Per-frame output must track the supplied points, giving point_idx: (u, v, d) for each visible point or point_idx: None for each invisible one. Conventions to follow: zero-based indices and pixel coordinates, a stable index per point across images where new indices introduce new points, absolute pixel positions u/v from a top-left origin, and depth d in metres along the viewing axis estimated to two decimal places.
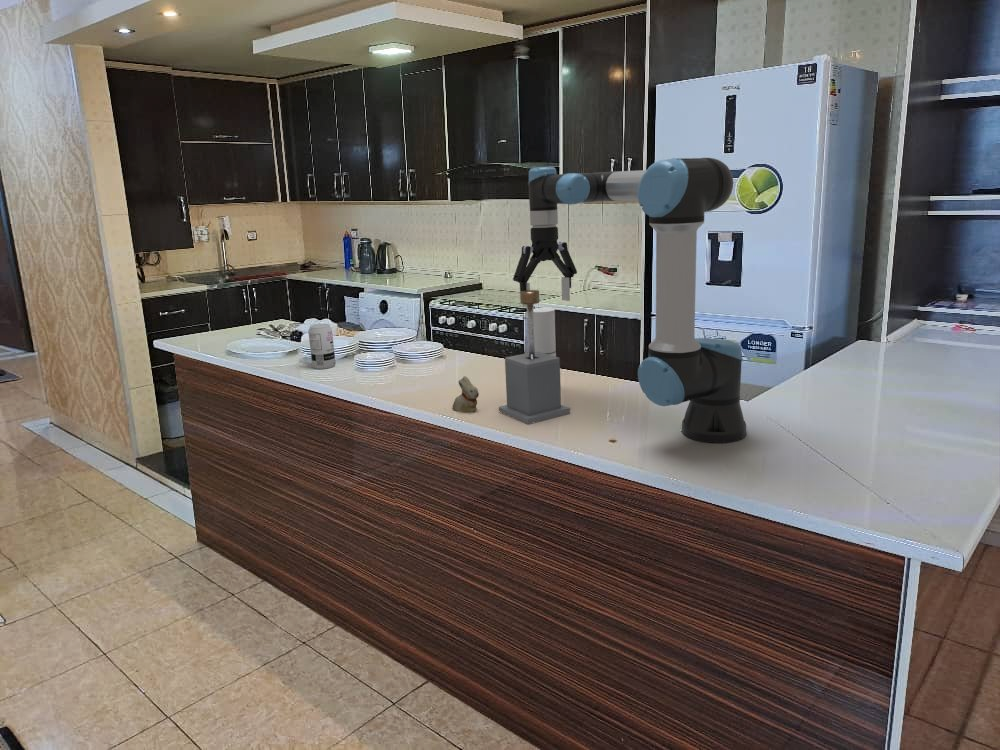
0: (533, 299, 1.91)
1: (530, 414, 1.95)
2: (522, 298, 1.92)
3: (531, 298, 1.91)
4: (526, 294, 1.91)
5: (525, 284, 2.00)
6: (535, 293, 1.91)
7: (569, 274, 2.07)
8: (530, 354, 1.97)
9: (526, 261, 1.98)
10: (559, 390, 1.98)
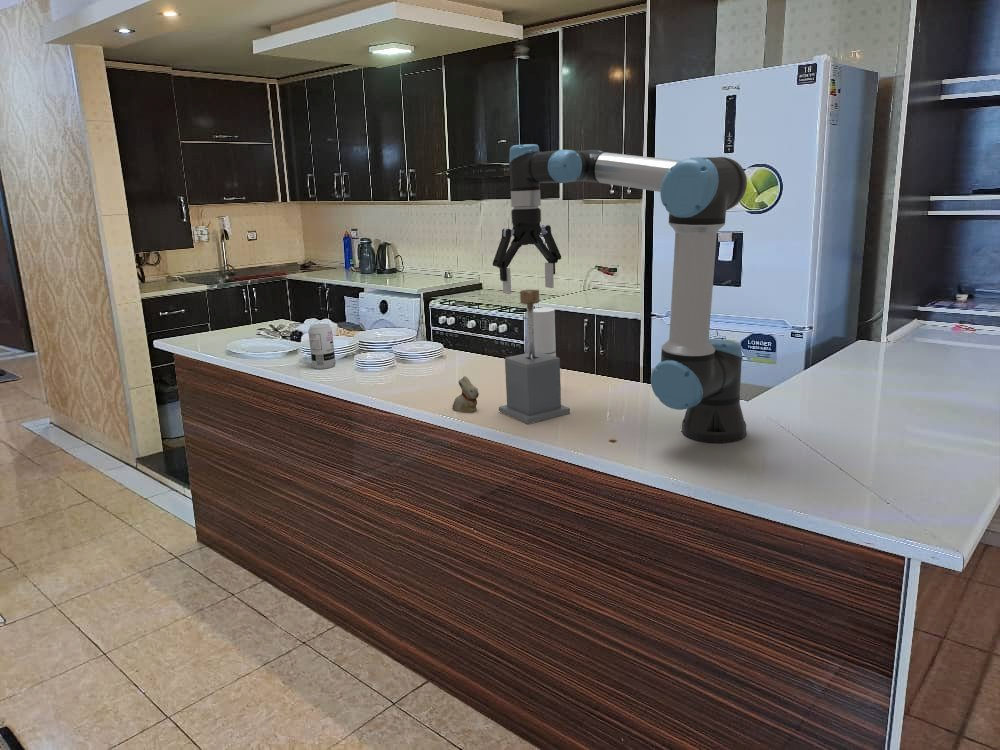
0: (533, 299, 1.91)
1: (530, 414, 1.95)
2: (522, 298, 1.92)
3: (531, 297, 1.91)
4: (526, 294, 1.91)
5: (505, 269, 1.87)
6: (535, 292, 1.91)
7: (553, 259, 1.94)
8: (530, 354, 1.97)
9: (506, 245, 1.85)
10: (559, 390, 1.98)
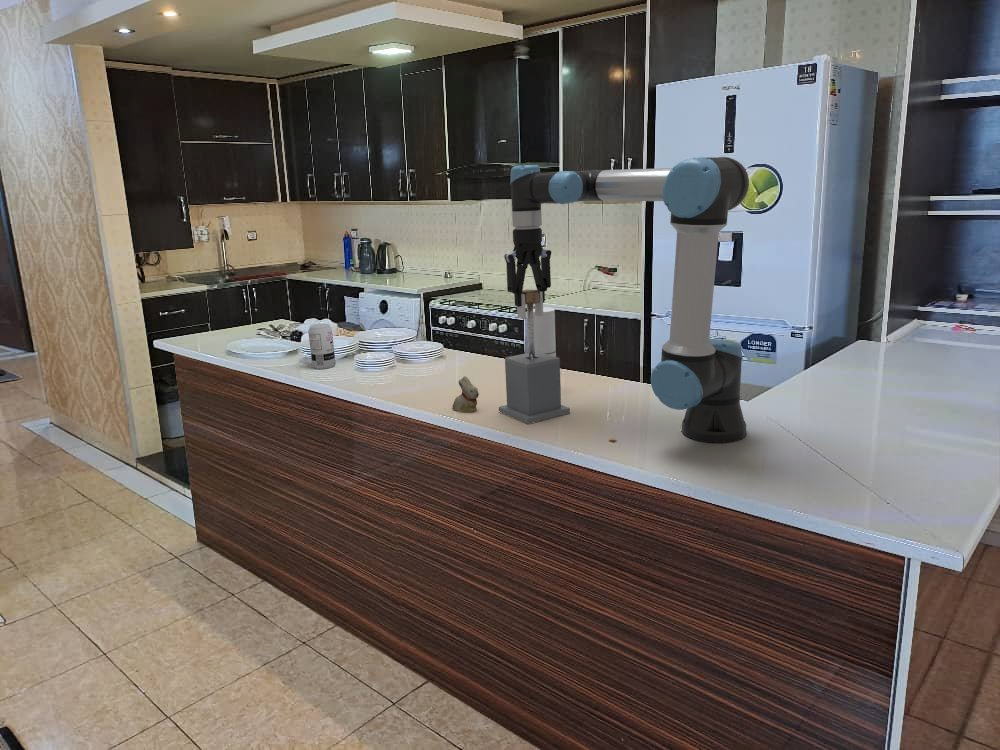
0: (533, 299, 1.91)
1: (530, 414, 1.95)
2: None
3: (531, 297, 1.91)
4: (526, 294, 1.91)
5: (520, 295, 1.91)
6: (535, 292, 1.91)
7: (543, 287, 1.94)
8: (530, 354, 1.97)
9: (514, 270, 1.88)
10: (559, 390, 1.98)
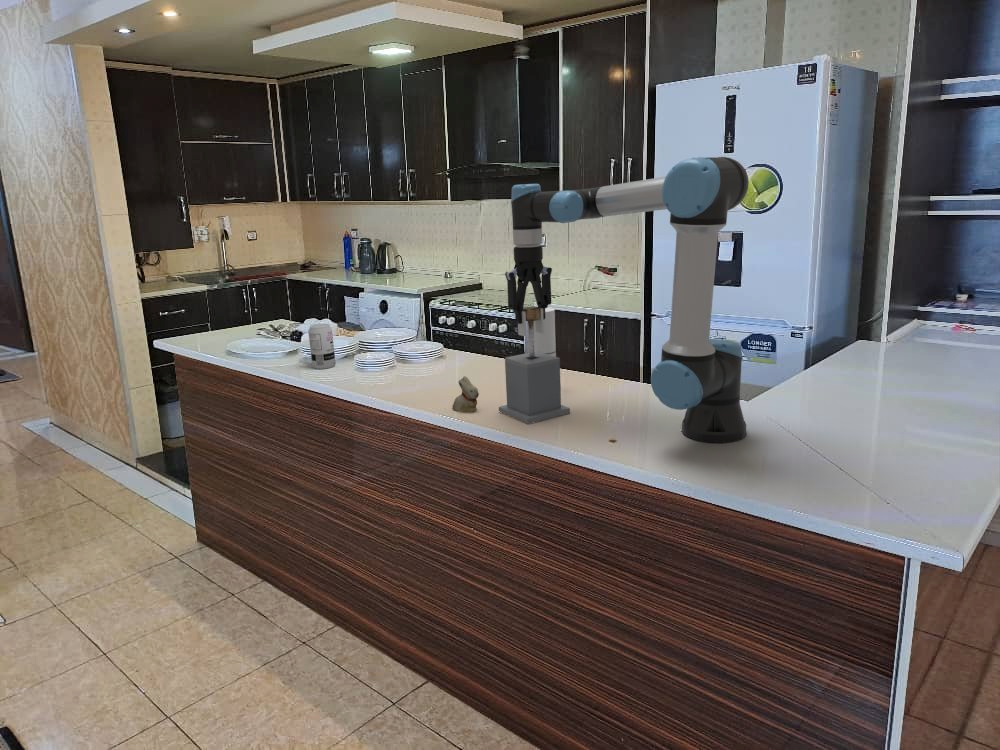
0: (534, 316, 1.93)
1: (530, 414, 1.95)
2: None
3: (532, 314, 1.92)
4: (527, 311, 1.92)
5: (521, 312, 1.92)
6: (536, 310, 1.93)
7: (543, 304, 1.95)
8: None
9: (514, 287, 1.89)
10: (559, 390, 1.98)
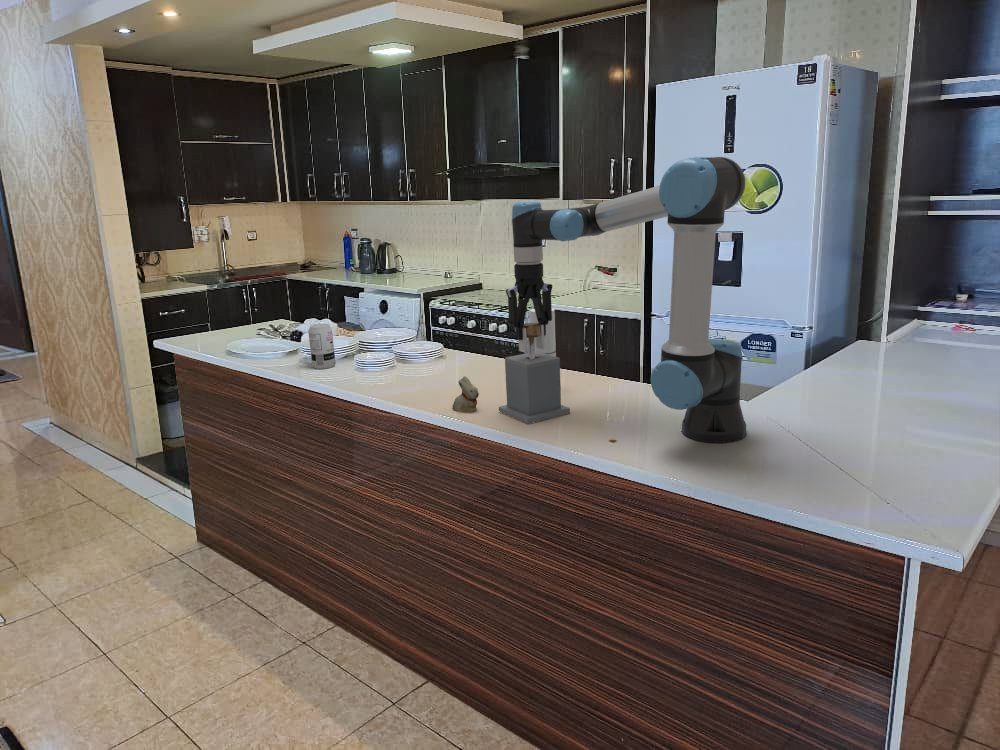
0: (535, 333, 1.94)
1: (530, 414, 1.95)
2: None
3: (532, 331, 1.94)
4: (527, 328, 1.93)
5: (521, 329, 1.93)
6: (537, 326, 1.94)
7: (544, 321, 1.96)
8: None
9: (515, 304, 1.90)
10: (559, 390, 1.98)
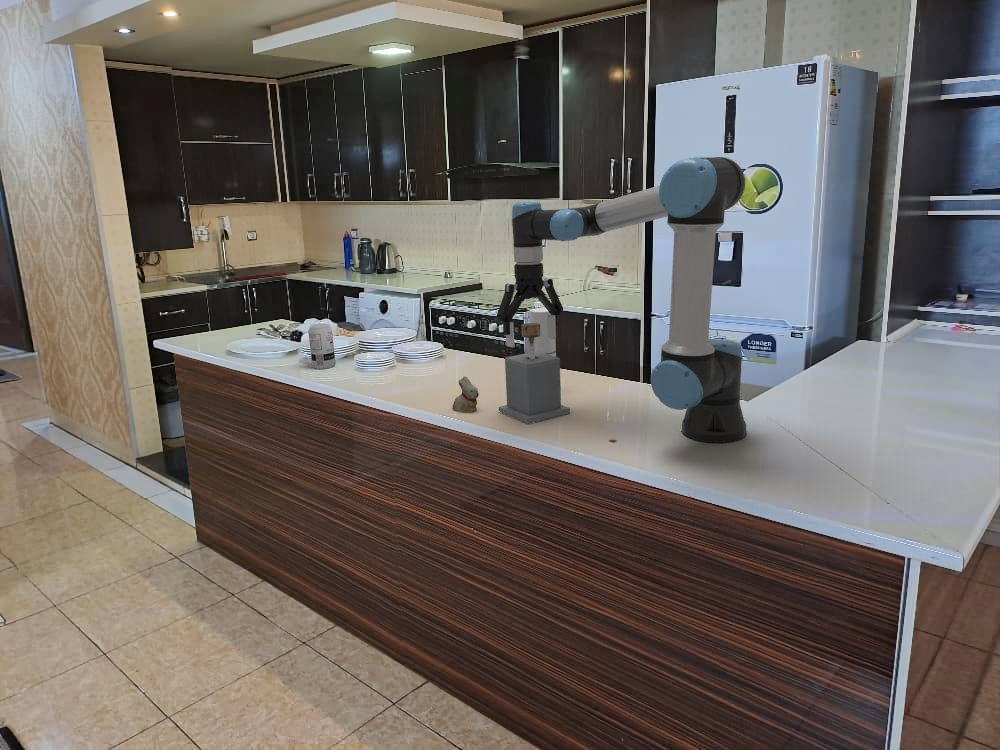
0: (535, 333, 1.94)
1: (530, 414, 1.95)
2: (523, 331, 1.95)
3: (532, 331, 1.94)
4: (527, 328, 1.93)
5: (508, 323, 1.91)
6: (537, 326, 1.94)
7: (555, 312, 1.98)
8: None
9: (509, 300, 1.89)
10: (559, 390, 1.98)
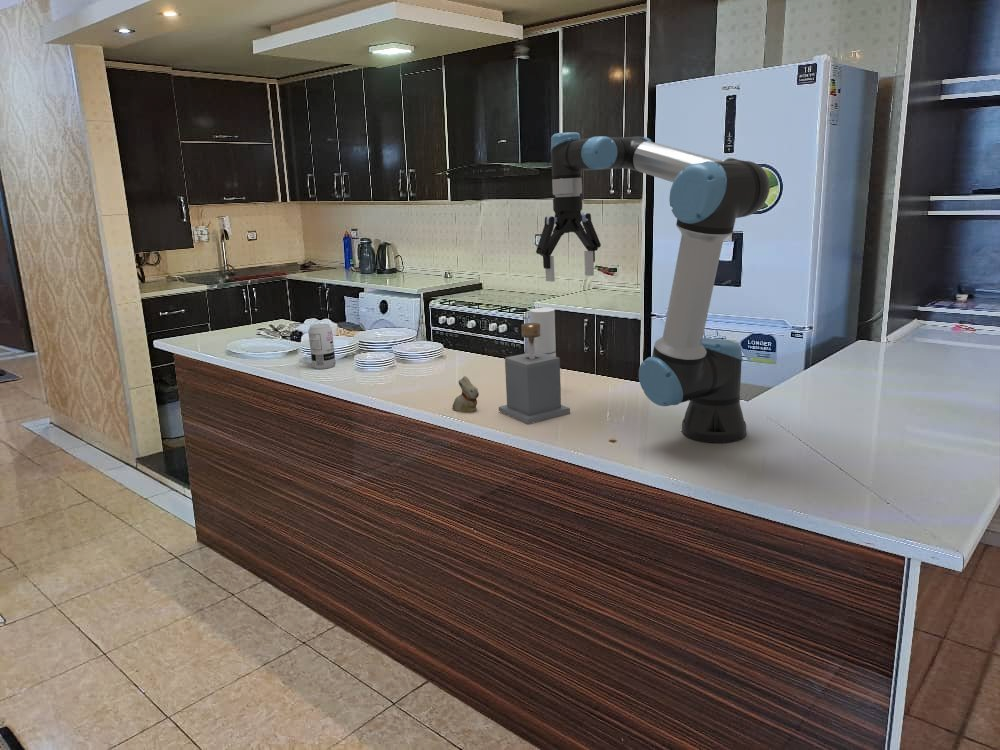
0: (535, 333, 1.94)
1: (530, 414, 1.95)
2: (523, 331, 1.95)
3: (532, 331, 1.94)
4: (527, 328, 1.93)
5: (549, 257, 1.88)
6: (537, 326, 1.94)
7: (593, 247, 1.96)
8: None
9: (550, 232, 1.87)
10: (559, 390, 1.98)
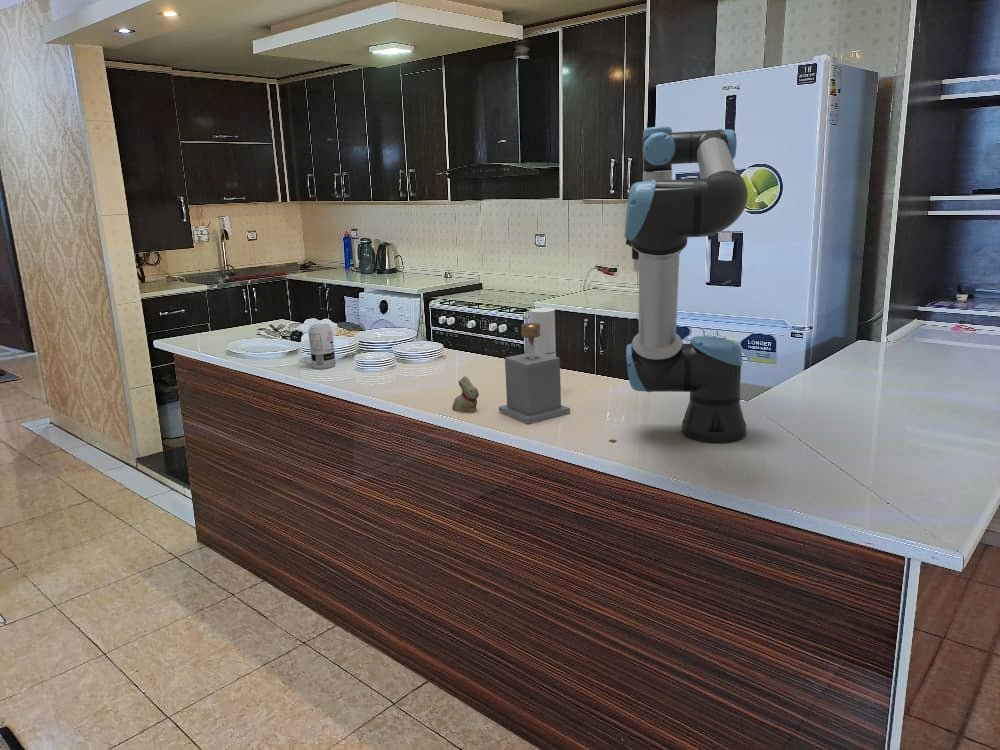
0: (535, 333, 1.94)
1: (530, 414, 1.95)
2: (523, 331, 1.95)
3: (532, 331, 1.94)
4: (527, 328, 1.93)
5: None
6: (537, 326, 1.94)
7: None
8: None
9: None
10: (559, 390, 1.98)
